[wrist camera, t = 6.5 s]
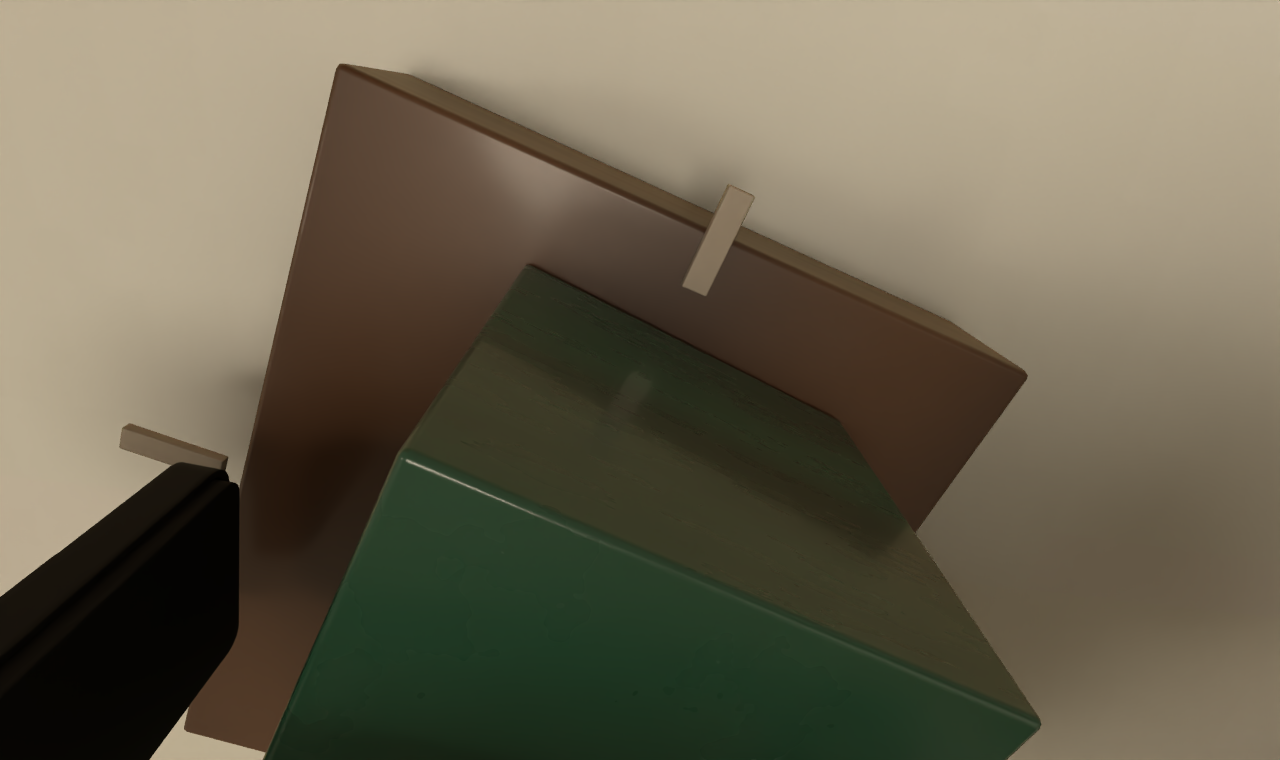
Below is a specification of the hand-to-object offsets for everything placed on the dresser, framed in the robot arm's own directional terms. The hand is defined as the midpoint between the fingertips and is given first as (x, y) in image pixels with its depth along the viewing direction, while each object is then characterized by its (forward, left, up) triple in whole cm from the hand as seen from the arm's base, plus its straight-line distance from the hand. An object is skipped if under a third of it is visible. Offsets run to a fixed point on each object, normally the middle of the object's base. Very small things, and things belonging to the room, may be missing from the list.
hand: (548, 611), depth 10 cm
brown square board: (0, 0, -3) cm, 3 cm away
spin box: (0, 0, -1) cm, 1 cm away
